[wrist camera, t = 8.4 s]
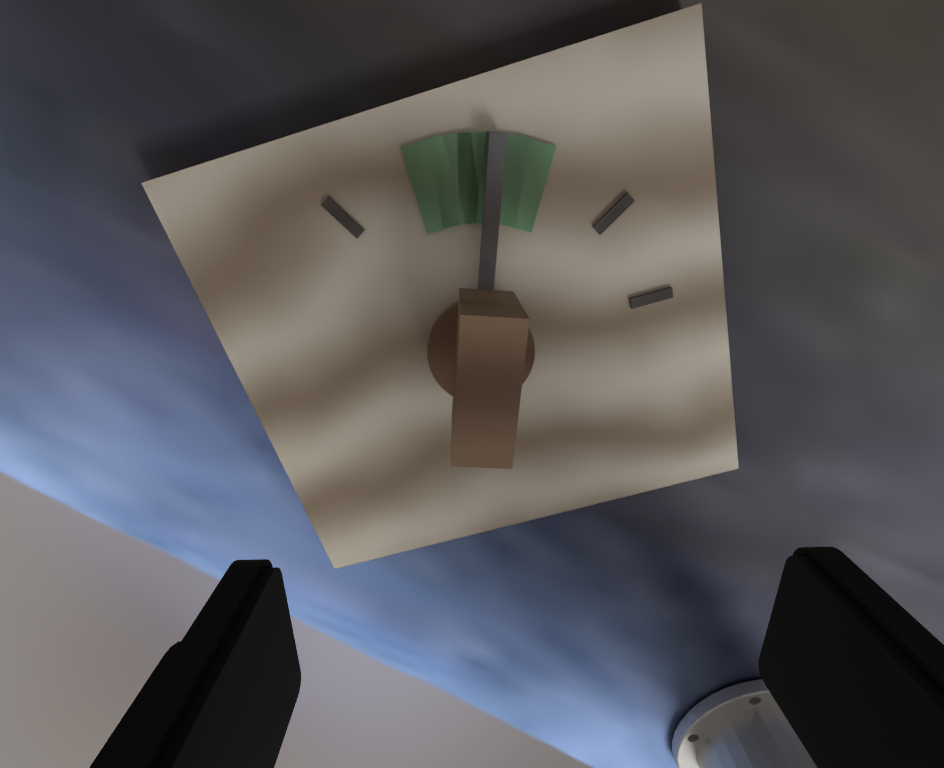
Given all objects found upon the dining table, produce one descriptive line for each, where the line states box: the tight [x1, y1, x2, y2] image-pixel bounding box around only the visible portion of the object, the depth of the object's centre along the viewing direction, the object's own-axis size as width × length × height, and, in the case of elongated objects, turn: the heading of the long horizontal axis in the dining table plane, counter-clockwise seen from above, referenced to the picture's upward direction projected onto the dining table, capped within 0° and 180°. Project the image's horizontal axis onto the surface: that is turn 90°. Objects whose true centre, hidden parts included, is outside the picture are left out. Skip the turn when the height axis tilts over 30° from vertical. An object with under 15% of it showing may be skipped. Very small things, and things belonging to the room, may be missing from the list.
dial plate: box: [141, 3, 739, 569], centre depth 24 cm, size 22×24×2 cm
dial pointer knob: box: [427, 132, 535, 469], centre depth 19 cm, size 12×5×6 cm, turn 176°
